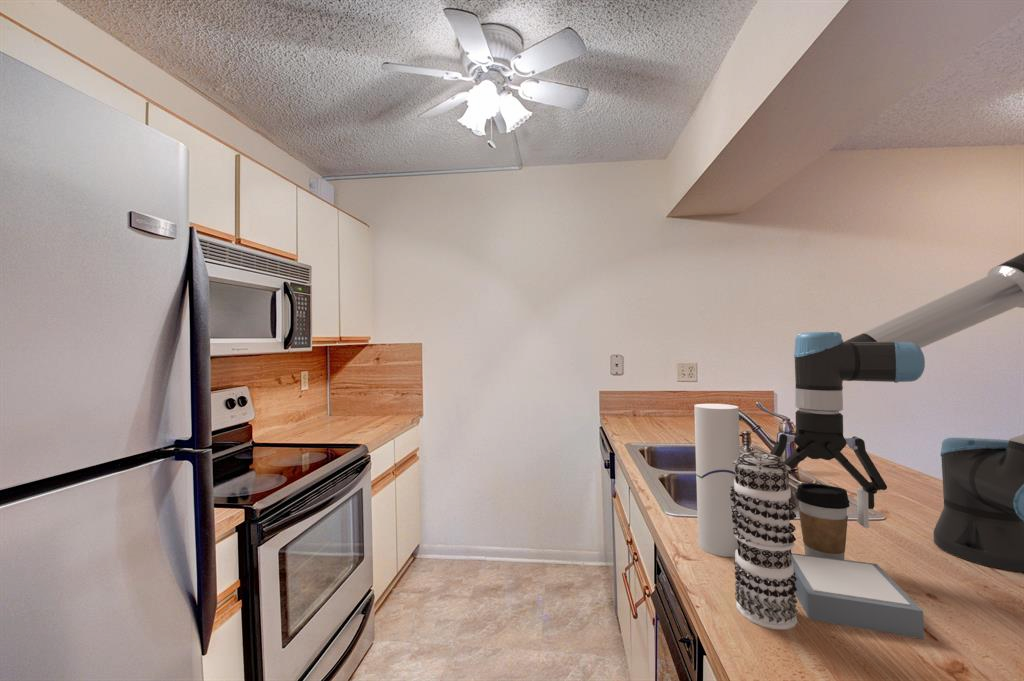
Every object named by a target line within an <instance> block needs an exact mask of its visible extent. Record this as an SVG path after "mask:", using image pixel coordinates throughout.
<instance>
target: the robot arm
mask: <svg viewBox="0 0 1024 681" xmlns="http://www.w3.org/2000/svg"><path fill="white" fill-rule="evenodd" d="M1016 308H1020V309H1024V252H1022V253H1021V254H1018V255H1016V256H1015V257H1013V258H1010V259H1009V260H1006V261H1005V262H1003V263H999V265H996V266H994V267H992V268H991V269H989V270H988V272H987V274H986V276H985V277H983V278H980V279H979V280H976V281H974V282H972V283H969V284H967V285H965V286H963V287H961V288H958V289H957V290H954V291H952V292H949V293H948V294H945V295H943V296H941V297H939V298H937V299H934V300H933V301H930V302H928V303H926V304H923V305H921V306H919V307H917V308H915V309H913V310H910V311H909V312H905V313H904V314H902V315H899V316H897V317H895V318H892V319H890V320H888V321H886V322H884V323H882V324H880V325H877V326H875V327H873V328H870V329H869V330H867V331H864V332H862V333H861V334H859V335H855V336H854V337H851V338H848V339H847V340H845V341H844V339H843V338H842V337H843V336H842V334H841V333H840V332H837V331H813V332H812V331H811V332H810V331H809V332H799V334H797V335H796V337H795V339H794V353H793V357H794V374H795V375H794V377H795V404H794V405H795V407H796V408H797V410H796V411H795V433H794V434H788V433H787V434H786V433H784V432H782V431H779V432H778V433H777V434H776V440H775V441H776V442H775V443H774V446H773V448H772V450H771V451H770V453H769V454H772V455H775V456H778V457H780V458H781V457H782V455H783V453H785V450H786V447H787V446H790V445H791V442H794V443H795V444H796V446H797V447H796V448H795V449H794V450H793V451H792V453H791V454H790V455H789V456H788V457H787V458H786V459H785V460H783V462H784V464H785V465H787V466H789V467H790V468H791V470H789V472H788V474H789V473H790V472H791V471H793V469H794V468H795V467H796V466H798V464H800V463H801V462H802V461H805V459H807V458H809V459H811V460H820V459H822V460H825V461H832V460H833V459H835V460H836V461H837V462H838V463H839V464H840V465H841V466H842V467H843V468H844V469H845V471H847V472H848V474H849V475H850V476H851V477H852V478H853V479H854V480H855V481H856V482H857V483H858V484H859V485H860V486H861V487H862V488H861V487H857V488H856V504H857V505H856V510H857V512H856V514H857V517H856V518H857V521H856V522H857V523H858V524H859V525H860V526H862V528H865V529H866V528H867V529H869V525H870V524H869V522H870V520H869V509H870V510H873V509H874V508H875V494H877V493H878V491H881V490H882V491H886V490H887V489H888V485H887V484H886V482H885V480H884V479H883V477H882V475H881V474H880V472H879V470H878V469H877V467H876V465H875V463H874V461H873V460H872V459H871V457H870V456H869V454H868V452H867V451H866V450H867V449H866V443H865V441H864V439H862V438H860V437H858V436H852V437H850V438H849V437H848V438H847V437H845V436H844V415H843V414H842V413H841V412H842V411H843V410H844V398H843V394H844V393H843V389H844V387H843V381H844V382H845V381H847V382H853V381H854V382H855V381H856V382H878V383H879V382H880V383H881V382H886V383H888V382H889V383H890V382H892V383H896V384H897V383H907V382H909V383H911V382H915V381H917V380H918V379H920V378H921V377H922V375H923V373H924V371H925V367H926V360H925V355H924V352H923V351H922V348H924V347H927V346H929V345H931V344H933V343H936V342H939V341H941V340H943V339H945V338H948V337H950V336H952V335H954V334H957V333H960V332H962V331H964V330H966V329H969V328H972V327H973V326H976V325H977V324H980V323H983V322H985V321H987V320H990V319H992V318H995V317H997V316H999V315H1001V314H1004V313H1006V312H1008V311H1011V310H1013V309H1016ZM846 445H848V447H849V448H850V449H852V451H853V452H854V453H855V456H856V457H857V459H858V460H859V462H860V463H861V466H862V467H863V470H865V472H866V475H867V476H868V477H869V479H870V481H869V480H868V479H867V478H866V477H865V476H864V475H863V474H862V473H861V472H860V471H859V470H858V469H857V468H856V467H855V465H854V464H852V463H851V462H850V460H848V458H847V457H846V456H845V454H843V452H842V451H843V450H844V448H845V447H846ZM940 449H941V450H940V452H939V453H940V458H941V476H942V492H943V493H942V494H943V509H942V511H941V513H940V515H939V518H938V520H937V522H936V524H935V527H934V529H933V543H934V545H936V546H937V547H938V548H939V549H941V550H942V551H944V552H946V553H949V554H950V555H953V556H955V557H958V558H961V559H964V560H966V561H969V562H972V563H976V564H980V565H982V566H988V567H991V568H996V569H1001V570H1007V571H1014V572H1020V573H1024V433H1023V434H1020V435H1018V436H1015V437H1012V438H1009V439H999V438H998V439H997V438H980V437H947V438H945V439H944V440H943V441H942V442H941V448H940Z"/></svg>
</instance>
